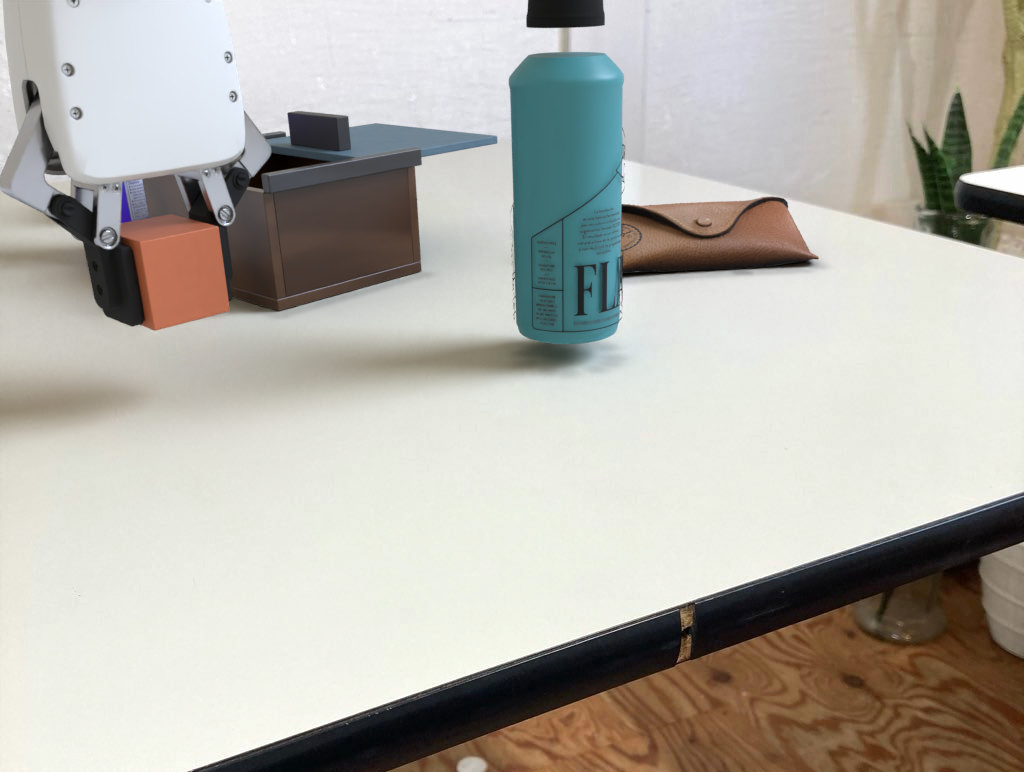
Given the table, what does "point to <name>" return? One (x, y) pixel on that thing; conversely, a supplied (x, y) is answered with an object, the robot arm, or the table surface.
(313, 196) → the box
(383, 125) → the lid
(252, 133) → the robot arm
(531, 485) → the table surface
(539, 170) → the beverage bottle
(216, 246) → the block
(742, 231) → the sunglasses case
